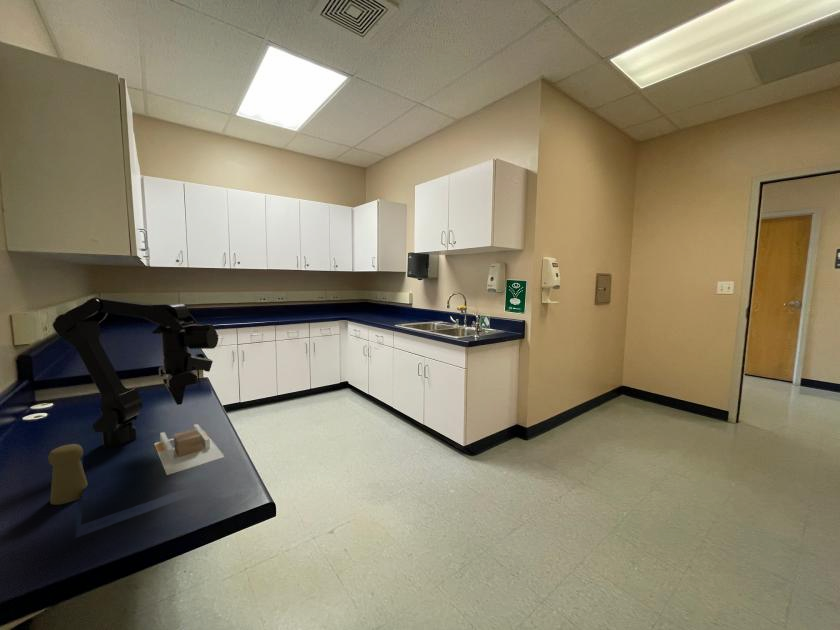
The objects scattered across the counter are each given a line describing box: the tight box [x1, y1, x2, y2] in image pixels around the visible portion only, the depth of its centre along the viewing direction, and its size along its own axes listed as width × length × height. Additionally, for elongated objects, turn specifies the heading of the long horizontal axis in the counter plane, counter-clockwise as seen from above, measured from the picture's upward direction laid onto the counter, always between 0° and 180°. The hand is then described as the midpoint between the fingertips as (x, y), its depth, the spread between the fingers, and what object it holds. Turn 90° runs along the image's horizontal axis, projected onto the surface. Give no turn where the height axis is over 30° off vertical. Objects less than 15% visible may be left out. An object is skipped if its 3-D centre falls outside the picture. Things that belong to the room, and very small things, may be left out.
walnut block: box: [173, 428, 201, 457], centre depth 91 cm, size 6×5×4 cm
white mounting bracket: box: [153, 423, 225, 476], centre depth 92 cm, size 22×12×4 cm, turn 44°
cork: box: [47, 443, 89, 506], centre depth 74 cm, size 6×6×11 cm
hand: (179, 404), depth 96 cm, fingers closed
